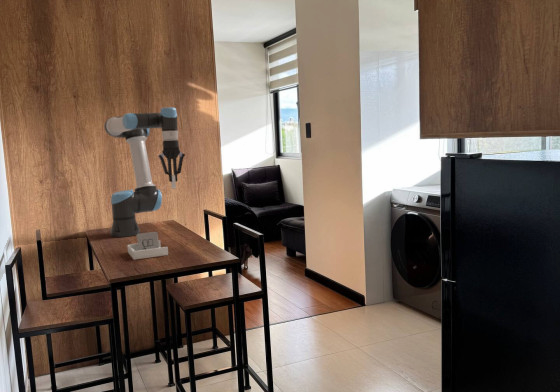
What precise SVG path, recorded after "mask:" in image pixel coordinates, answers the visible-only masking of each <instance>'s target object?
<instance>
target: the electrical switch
mask: <svg viewBox="0 0 560 392" xmlns="http://www.w3.org/2000/svg"><path fill="white" fill-rule="evenodd" d="M135 236H136V241H137V243H138V251H139V250H143V248H145V250H146V249H154V248H159V243H158V241H159V236H158V232H157V231H152V232H151V231H150V232H143V233H142V232H140V233H139V234H137V235H135Z"/></svg>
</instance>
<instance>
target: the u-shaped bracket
mask: <svg viewBox="0 0 560 392" xmlns="http://www.w3.org/2000/svg"><path fill="white" fill-rule="evenodd" d="M158 243H159V248H154V249H146V250H145V248H143V250H139V251H138V242H137V243H130V244H127V253H128V254H129V256H130V257H131V258H132V260H140V259H141V260H142V259H148V258H155V257H162V256H163V257H164V256H169V248H168V246H162V244H161V240H158Z"/></svg>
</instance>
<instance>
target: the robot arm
mask: <svg viewBox="0 0 560 392" xmlns="http://www.w3.org/2000/svg"><path fill="white" fill-rule="evenodd" d="M103 128H104V131H105V133H106V134H107V135H109V136H111V137H113V138H119V139H125V142H126V143H127V144H129V151H130V155H131V160H132V161H131V162H132V167H133V173H134V176H135V177H134V178H135V183H136V186H135V188H134V190H133V189H123V190H120V191H119V190H118V191H115V192H114V193H112V194H111V196H110V204H111V212H112V213H111V214H112V215H111V216H112V224H111V228H110V237H113V238H115V237H116V238H124V237H125V238H126V237H131V236H132V237H133V236H136V235H137V234H141V230H140V226H139V224H138V222H137V219H136V214H142V213H148V212H151V213H152V212H155V211H158V210H160V208H161V207H162V204H163V203H162V202H163V196H162V192H161V190H160V189H159V188H157V185H155V184H154V183H153V177H152V173H151V168H150V161H149V157H148V152H147V146H146V141H147V140H148V137H149V135H150V129H161V131H162V132H161V136H162V137H161V138H162V140H163V141H162V152H161V154H159V155H158V156H157V157H158V159H159V160H160V162H161V166H162V169H163V172H164V174H165V175H168V180H169V183H170V184H171V186H170V187H171V189H173V190H174V189H176V188H177V186H176V182H178V175H179V174H181V172H182V167H183V161H184V158H185V156H186V155H185V153H183V152H181V150H180V145H179V140H178V139H179V131H178V129H179V128H178V114H177V108H176V107H161V108H160V112H144V113H143V112H138V113H137V112H135V113H133V112H129V113H124V114H123V116H121V115H119V116H113V117H110V118H108V119H106V121H105V122H104V126H103ZM178 157H179V159H178V163H177V158H178ZM164 158H166V161H167V165H166V161H165V159H164ZM177 164H178V165H177ZM172 167H173V168H172ZM172 170H173V171H172Z"/></svg>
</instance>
